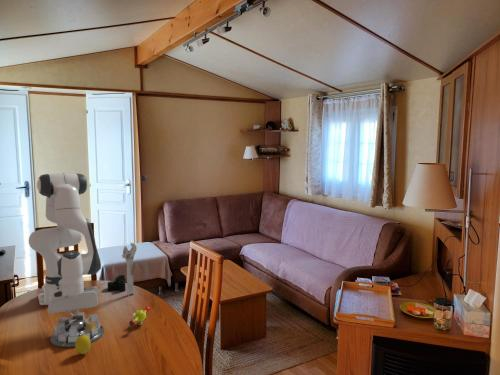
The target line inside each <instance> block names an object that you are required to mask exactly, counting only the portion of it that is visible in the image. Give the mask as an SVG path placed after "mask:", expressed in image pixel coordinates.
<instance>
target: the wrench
mask: <svg viewBox="0 0 500 375" xmlns="http://www.w3.org/2000/svg"><path fill="white" fill-rule="evenodd" d="M129 244H130V246H131V247H130V249H128V247H127V246H126V245H124V247H123V250H122V254H121V258H122V259H125V261H126V286H127V288H126V292H127V293H126V295H127V297H130V295H131V294H132V295H134V291H135V290H134V267H133V266H134V265H133V261H134V258H135V254H136V253H137V245H136V244H135V243H134V242H129Z"/></svg>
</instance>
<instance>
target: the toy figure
mask: <svg viewBox="0 0 500 375" xmlns="http://www.w3.org/2000/svg"><path fill="white" fill-rule="evenodd" d="M150 311H151V307H150V306H145V309H144V310H142V309H137V310H136V311H135V312H134V313H133V314H132V316H133V319H132V320H130V321H129V323H128V324H129V326H131V327H133V326H135V324H136V322H137V323H138V324H137V326H138V325H140V326H141V325H142V324H143V322H144V321H145V320H146V318H147V315H146V313H148V312H150Z"/></svg>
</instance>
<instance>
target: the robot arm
mask: <svg viewBox="0 0 500 375" xmlns="http://www.w3.org/2000/svg"><path fill="white" fill-rule="evenodd" d="M36 188H37V191H38V193H39V194H40V195H42V196H44V197H46V199H45V218H46V220H48V221H49V222H51V223H52V224H56V226H55V227H49V228H47V227H46V228H42V229H38V230H35V231H32V232H31V233H30V235H29V237H28V244H29V247H30V248H31V249H32V250H33V251H35V252H37V253H38V254H40V256H42V258H43V260H44V263H45V270H46V271H45V272H46V273H45V274H46V275H45V277H44V282H45V283H44V284H43V285H42V286H41V288H40V289H39V293H38V294H37V299H38V302H39V305H40V306H47V307H48V308H47V313H49V314H52V315H53V314H57V313H64V312H67V314H68V315H69V316H70V317H71V319H70V321H71V320H76V315H78V313H81V312H80V310H83V309H90V308H95V307H98V305H99V298H98V295H99V288H98V287H97V286H95V285H92V286H85V285H84V284H85V282H84V277H83V276H85V275H86V276H87V275H88V276H89V275H96V274H97V273H99V271H100V270H101V269H102V259H101V257H100V255H99V251H98V248H97V244H96V240H95V239H96V238H95V235H94V231H93V228H92V224H91V221H90V220H89V219H88V218H85V216H84V215H83V212H82V204H81V198H80V196H81V195H83V194H85V193H86V191H87V189H88V180H87V177H86V176H85V175H84V174H82V173H71V172H70V173H69V172H66V173H65V172H62V173H45V174H44V173H43V174H42V175H40V176H39V177H38V179H37V182H36ZM83 238H84V240H85V244H86V248H87V252H86V253H83V254H82V253H80V251H75V250H69V251H67V252H64V253H58V249H62V248H63V249H64V248H69V247H73V246H75V245H78V244H80V243H81V242H82V240H83ZM72 311H75V314H73V313H72Z"/></svg>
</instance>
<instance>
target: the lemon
mask: <svg viewBox="0 0 500 375" xmlns="http://www.w3.org/2000/svg"><path fill="white" fill-rule="evenodd" d="M91 347H92V343H91V342H90V338H89V337H88V336H86V335H81V336H79V337H78V338H77V340H76V343H75V347H74V348H75V351H76V352H77V353H78V354H80V355H85V354H86V353H89V352H88V351H90V349H91Z"/></svg>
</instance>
